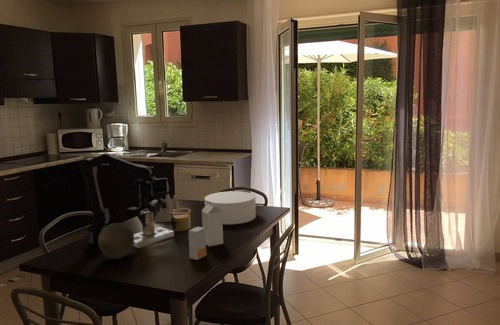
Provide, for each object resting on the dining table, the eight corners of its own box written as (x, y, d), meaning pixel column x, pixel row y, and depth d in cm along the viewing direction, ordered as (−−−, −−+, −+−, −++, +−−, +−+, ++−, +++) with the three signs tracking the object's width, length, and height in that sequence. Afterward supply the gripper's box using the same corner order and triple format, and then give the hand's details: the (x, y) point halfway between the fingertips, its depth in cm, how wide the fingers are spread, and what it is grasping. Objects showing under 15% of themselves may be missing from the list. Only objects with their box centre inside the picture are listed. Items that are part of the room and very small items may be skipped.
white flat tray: (137, 248, 175) (137, 242, 174) (123, 242, 183) (122, 237, 182) (174, 236, 189) (173, 231, 189) (159, 231, 197) (159, 226, 197)
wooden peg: (147, 234, 183) (146, 214, 181) (142, 233, 185) (141, 212, 184) (154, 232, 186) (153, 212, 184) (149, 231, 188) (148, 210, 187)
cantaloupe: (97, 257, 166) (94, 222, 164) (131, 250, 173) (128, 217, 171) (102, 268, 154) (99, 231, 152) (139, 260, 161) (136, 225, 158)
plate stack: (227, 207, 239) (226, 189, 237) (265, 214, 223) (265, 194, 221) (195, 219, 217) (193, 199, 215) (235, 227, 200) (234, 205, 199)
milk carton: (208, 247, 174) (206, 205, 171) (202, 242, 180) (201, 201, 177) (223, 244, 177) (221, 202, 174) (217, 239, 183) (215, 199, 181)
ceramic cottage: (186, 215, 225) (183, 189, 223) (167, 224, 211) (163, 197, 209) (166, 213, 233) (162, 188, 231) (146, 222, 219) (142, 196, 217)
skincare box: (197, 260, 159) (196, 231, 158) (189, 258, 162) (187, 230, 160) (206, 255, 164) (205, 227, 163) (198, 253, 167) (197, 226, 165)
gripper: (138, 199, 171) (140, 234, 173) (172, 191, 184) (174, 224, 187) (124, 196, 178) (126, 229, 180) (158, 188, 192) (160, 219, 194)
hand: (148, 225), depth 185 cm, fingers closed on wooden peg, 4 cm apart
